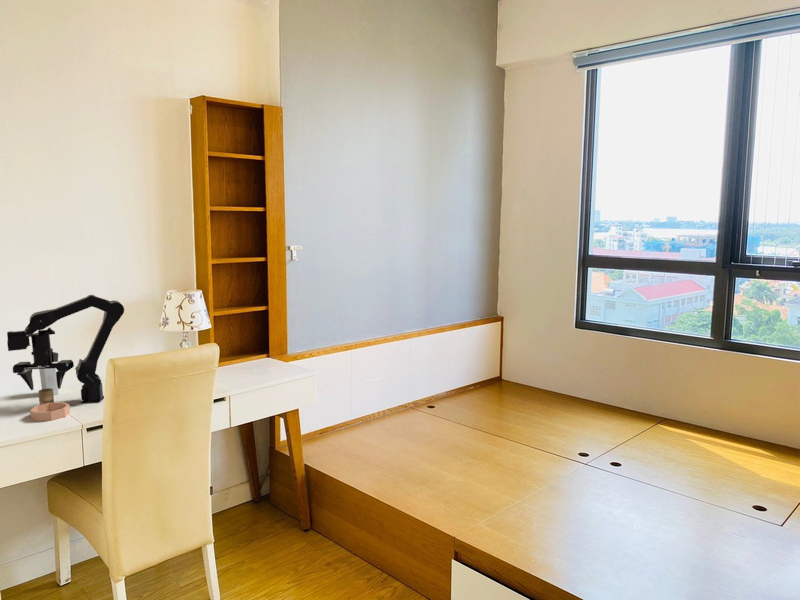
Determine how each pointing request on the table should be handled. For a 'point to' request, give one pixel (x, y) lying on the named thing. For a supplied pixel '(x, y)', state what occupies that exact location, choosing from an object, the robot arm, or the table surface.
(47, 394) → the oak tube
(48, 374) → the skincare box
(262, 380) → the table surface
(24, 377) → the robot arm
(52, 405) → the pink octagonal ring
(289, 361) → the table surface
